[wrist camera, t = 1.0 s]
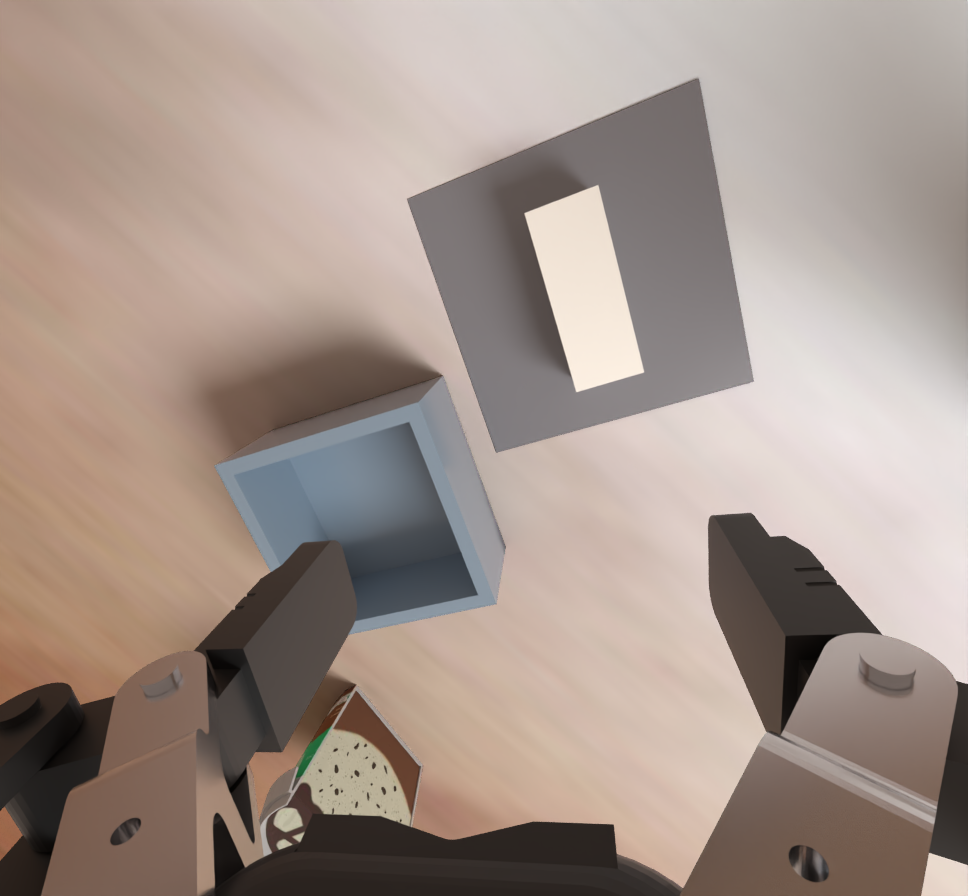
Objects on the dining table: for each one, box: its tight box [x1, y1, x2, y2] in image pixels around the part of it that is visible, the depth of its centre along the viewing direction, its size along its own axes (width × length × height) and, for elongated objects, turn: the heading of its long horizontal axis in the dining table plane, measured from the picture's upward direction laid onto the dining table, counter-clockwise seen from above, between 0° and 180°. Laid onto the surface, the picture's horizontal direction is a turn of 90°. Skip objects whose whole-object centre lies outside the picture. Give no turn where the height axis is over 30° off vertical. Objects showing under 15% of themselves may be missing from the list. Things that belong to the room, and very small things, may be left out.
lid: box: [407, 79, 754, 453], centre depth 27 cm, size 15×15×4 cm
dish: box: [214, 376, 506, 635], centre depth 31 cm, size 12×12×6 cm
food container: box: [259, 685, 423, 857], centre depth 37 cm, size 12×6×10 cm, turn 32°
